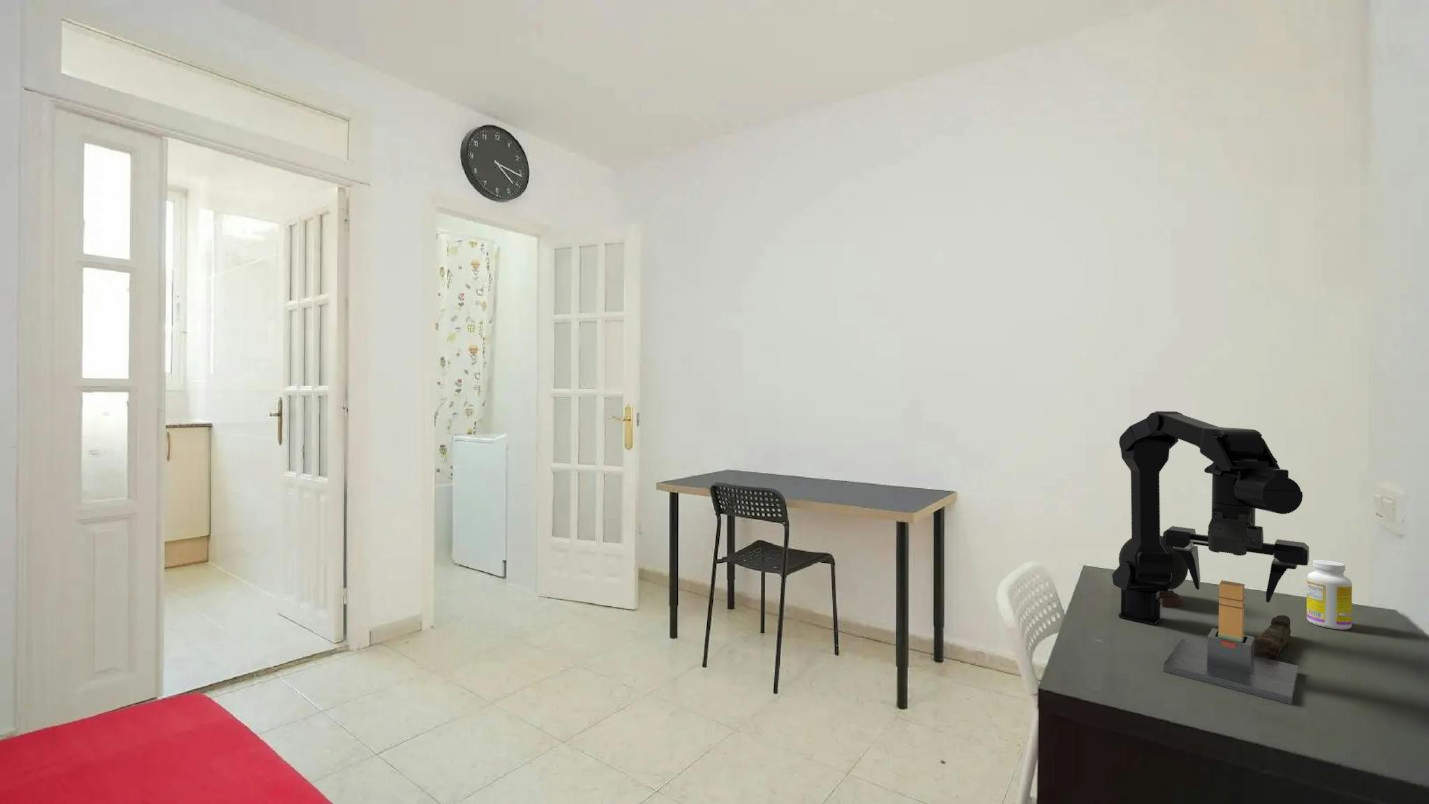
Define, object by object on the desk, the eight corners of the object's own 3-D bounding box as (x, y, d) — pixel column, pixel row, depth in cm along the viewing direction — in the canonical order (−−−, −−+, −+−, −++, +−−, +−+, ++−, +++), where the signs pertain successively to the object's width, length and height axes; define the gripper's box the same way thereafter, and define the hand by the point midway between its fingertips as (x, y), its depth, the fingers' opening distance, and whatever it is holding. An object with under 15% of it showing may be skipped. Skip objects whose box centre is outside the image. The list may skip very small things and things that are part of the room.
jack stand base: (1163, 671, 107) (1163, 635, 107) (1181, 645, 118) (1181, 613, 118) (1291, 704, 95) (1292, 665, 95) (1297, 672, 106) (1298, 637, 106)
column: (1218, 639, 107) (1218, 583, 106) (1220, 635, 109) (1221, 580, 109) (1241, 645, 104) (1242, 587, 104) (1244, 640, 106) (1244, 584, 106)
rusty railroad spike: (1278, 665, 110) (1278, 639, 110) (1248, 657, 113) (1249, 632, 113) (1304, 641, 121) (1305, 617, 121) (1277, 635, 125) (1277, 611, 124)
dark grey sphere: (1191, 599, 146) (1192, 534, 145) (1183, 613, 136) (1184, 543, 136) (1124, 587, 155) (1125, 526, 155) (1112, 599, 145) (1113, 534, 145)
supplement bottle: (1350, 624, 130) (1351, 562, 130) (1352, 633, 125) (1353, 568, 125) (1306, 616, 134) (1307, 556, 134) (1306, 624, 130) (1307, 562, 129)
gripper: (1156, 501, 108) (1155, 592, 108) (1306, 517, 94) (1304, 621, 94) (1169, 494, 115) (1168, 579, 116) (1310, 508, 102) (1308, 604, 102)
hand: (1231, 595), depth 107 cm, fingers open, 9 cm apart
